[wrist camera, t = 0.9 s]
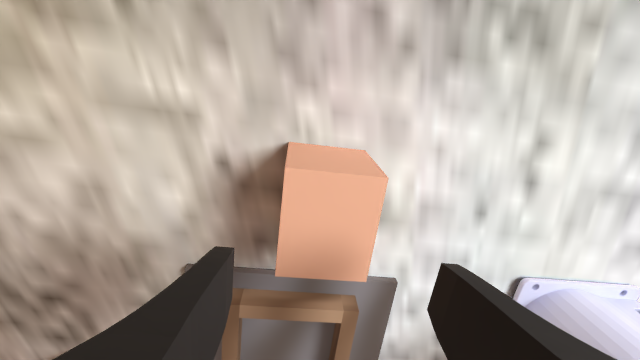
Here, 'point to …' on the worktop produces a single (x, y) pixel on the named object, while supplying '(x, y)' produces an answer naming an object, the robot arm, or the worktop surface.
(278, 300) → the collar
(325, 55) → the worktop surface
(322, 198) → the keyed block
